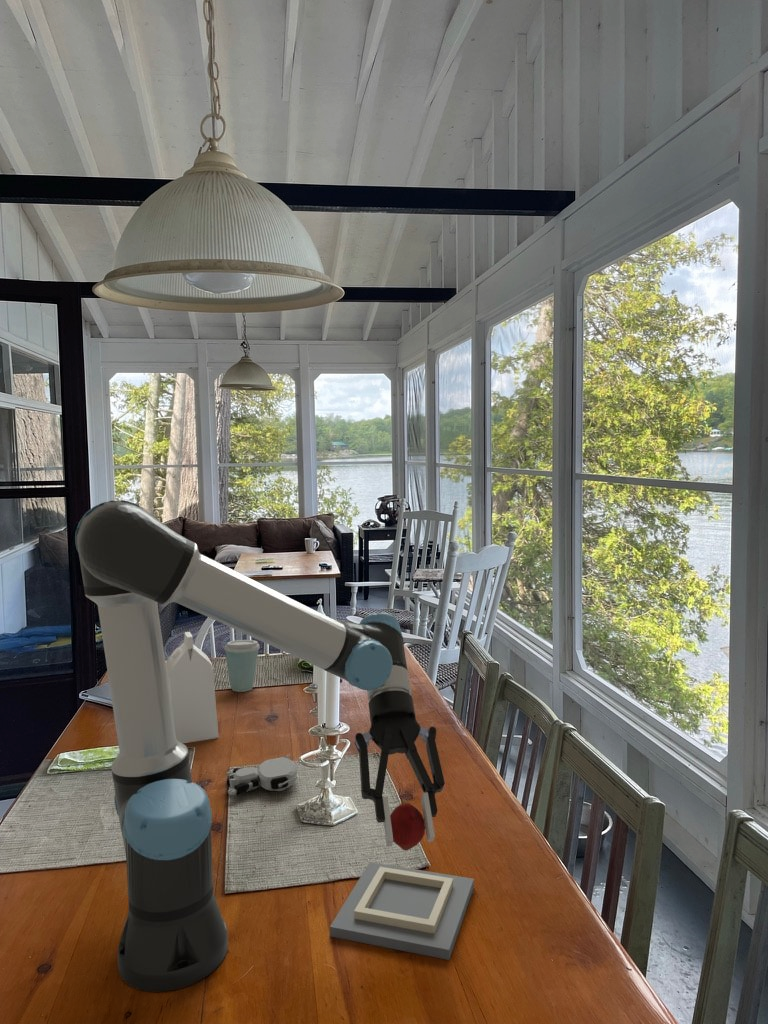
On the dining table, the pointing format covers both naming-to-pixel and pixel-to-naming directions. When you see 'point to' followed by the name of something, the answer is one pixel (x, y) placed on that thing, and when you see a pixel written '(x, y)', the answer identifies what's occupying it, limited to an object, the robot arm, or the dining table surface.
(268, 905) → the dining table surface
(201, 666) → the milk
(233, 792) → the robot toy
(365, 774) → the robot arm
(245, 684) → the disposable coffee cup
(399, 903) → the plate
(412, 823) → the onion
